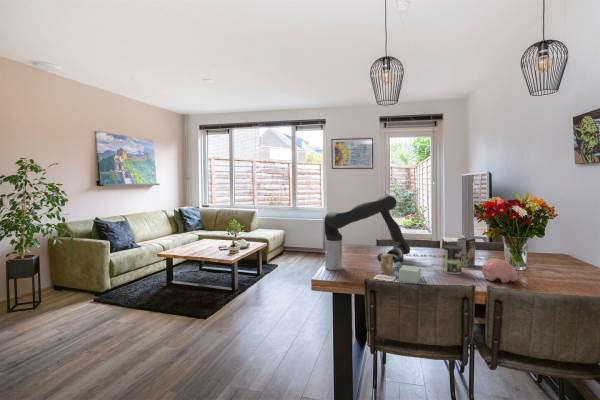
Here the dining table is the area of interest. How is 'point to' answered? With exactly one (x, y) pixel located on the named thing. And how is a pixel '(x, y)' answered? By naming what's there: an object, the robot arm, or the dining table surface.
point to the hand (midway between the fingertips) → (387, 260)
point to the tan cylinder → (387, 263)
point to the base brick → (409, 274)
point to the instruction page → (384, 277)
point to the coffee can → (451, 259)
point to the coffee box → (467, 251)
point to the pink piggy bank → (499, 270)
